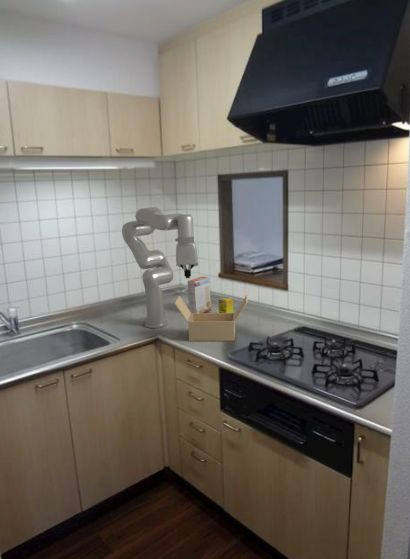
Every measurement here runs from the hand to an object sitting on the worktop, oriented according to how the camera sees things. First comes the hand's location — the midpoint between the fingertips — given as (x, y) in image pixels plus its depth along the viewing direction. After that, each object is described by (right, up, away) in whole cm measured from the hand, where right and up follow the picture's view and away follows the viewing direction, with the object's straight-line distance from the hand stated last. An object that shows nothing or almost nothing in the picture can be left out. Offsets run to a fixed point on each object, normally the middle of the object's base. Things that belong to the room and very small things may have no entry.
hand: (187, 277), depth 208 cm
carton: (+12, -29, +5) cm, 32 cm away
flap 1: (-2, -15, +3) cm, 16 cm away
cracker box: (+6, -21, +46) cm, 51 cm away
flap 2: (+26, -15, 0) cm, 30 cm away
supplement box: (+21, -23, +35) cm, 46 cm away
